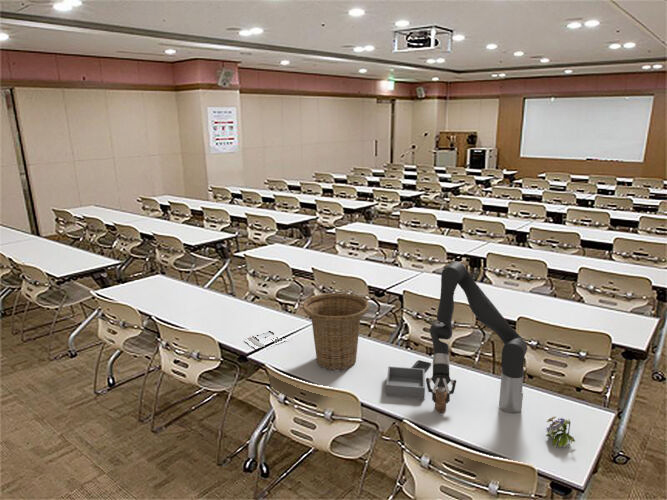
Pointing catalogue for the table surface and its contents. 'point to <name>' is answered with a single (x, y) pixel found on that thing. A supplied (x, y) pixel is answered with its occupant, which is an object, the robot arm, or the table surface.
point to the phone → (422, 365)
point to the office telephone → (261, 343)
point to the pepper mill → (440, 399)
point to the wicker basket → (336, 327)
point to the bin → (405, 382)
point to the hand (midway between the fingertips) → (440, 402)
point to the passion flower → (557, 427)
